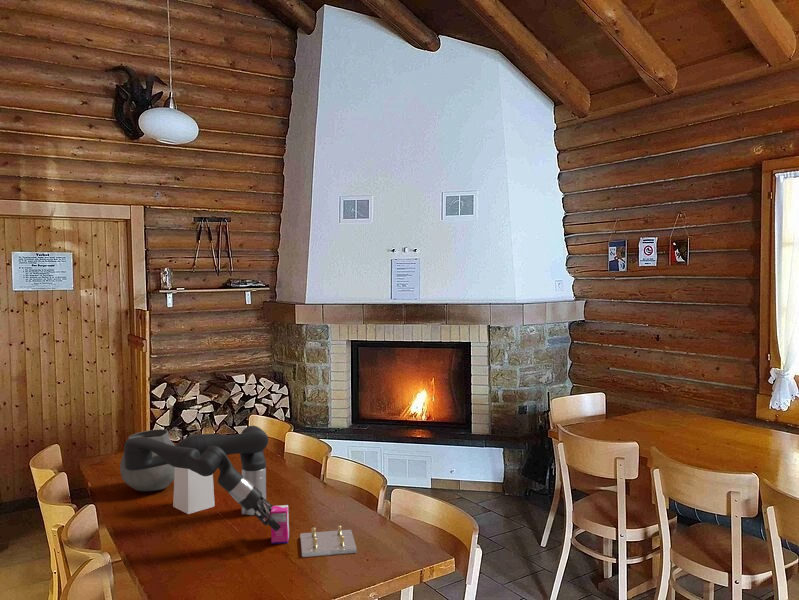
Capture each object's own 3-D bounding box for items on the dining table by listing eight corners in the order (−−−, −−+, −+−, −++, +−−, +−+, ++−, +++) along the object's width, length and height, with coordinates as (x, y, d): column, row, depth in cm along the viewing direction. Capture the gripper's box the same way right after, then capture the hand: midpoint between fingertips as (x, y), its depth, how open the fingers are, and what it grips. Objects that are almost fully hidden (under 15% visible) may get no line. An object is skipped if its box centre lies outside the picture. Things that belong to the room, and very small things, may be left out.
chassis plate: (302, 557, 204) (301, 543, 204) (300, 537, 220) (300, 525, 220) (356, 552, 207) (356, 539, 207) (351, 533, 223) (351, 521, 223)
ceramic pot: (136, 480, 283) (135, 425, 283) (189, 480, 283) (188, 426, 282) (109, 498, 259) (109, 439, 258) (167, 499, 258) (166, 439, 257)
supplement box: (272, 537, 220) (272, 505, 220) (289, 536, 220) (289, 504, 220) (270, 544, 214) (270, 511, 214) (287, 543, 215) (287, 510, 214)
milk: (173, 506, 250) (172, 442, 249) (199, 499, 258) (198, 437, 258) (188, 514, 242) (187, 447, 241) (214, 506, 250) (214, 442, 250)
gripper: (238, 494, 221) (271, 524, 223) (235, 508, 207) (270, 540, 209) (254, 478, 221) (286, 508, 224) (251, 492, 207) (286, 524, 210)
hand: (278, 524), depth 216 cm, fingers open, 8 cm apart
